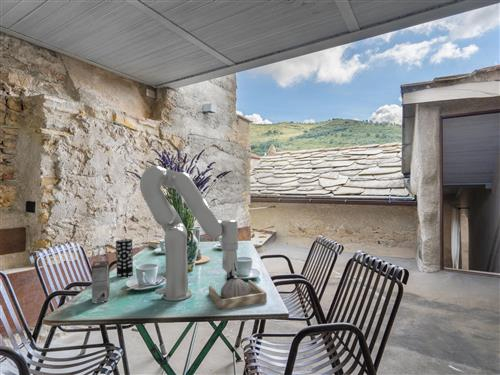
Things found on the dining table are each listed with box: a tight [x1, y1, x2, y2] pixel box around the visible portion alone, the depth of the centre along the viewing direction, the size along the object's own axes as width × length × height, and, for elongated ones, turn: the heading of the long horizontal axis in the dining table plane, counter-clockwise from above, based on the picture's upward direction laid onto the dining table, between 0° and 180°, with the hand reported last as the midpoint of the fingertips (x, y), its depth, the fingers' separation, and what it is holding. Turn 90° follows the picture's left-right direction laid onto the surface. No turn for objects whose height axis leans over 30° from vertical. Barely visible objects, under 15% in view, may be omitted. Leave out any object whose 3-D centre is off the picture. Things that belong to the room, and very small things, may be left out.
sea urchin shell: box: [220, 278, 252, 299], centre depth 128 cm, size 13×14×8 cm
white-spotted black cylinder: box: [115, 238, 134, 278], centre depth 164 cm, size 8×8×20 cm
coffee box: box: [90, 260, 111, 304], centre depth 129 cm, size 9×6×16 cm
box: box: [208, 279, 268, 310], centre depth 128 cm, size 20×19×4 cm
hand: (230, 285), depth 136 cm, fingers closed
